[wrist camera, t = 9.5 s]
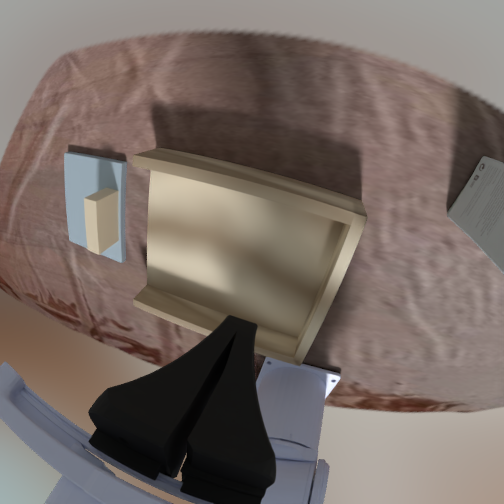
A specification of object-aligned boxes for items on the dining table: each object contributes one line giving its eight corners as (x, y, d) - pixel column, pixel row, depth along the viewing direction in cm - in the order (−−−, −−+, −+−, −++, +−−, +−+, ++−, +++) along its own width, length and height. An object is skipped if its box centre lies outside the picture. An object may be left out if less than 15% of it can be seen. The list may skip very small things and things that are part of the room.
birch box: (304, 338, 25) (300, 366, 22) (152, 285, 27) (133, 305, 24) (361, 200, 19) (367, 217, 16) (159, 147, 21) (133, 155, 18)
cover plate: (128, 257, 27) (103, 278, 24) (76, 236, 28) (51, 252, 25) (130, 160, 22) (98, 172, 19) (72, 150, 23) (42, 160, 20)
